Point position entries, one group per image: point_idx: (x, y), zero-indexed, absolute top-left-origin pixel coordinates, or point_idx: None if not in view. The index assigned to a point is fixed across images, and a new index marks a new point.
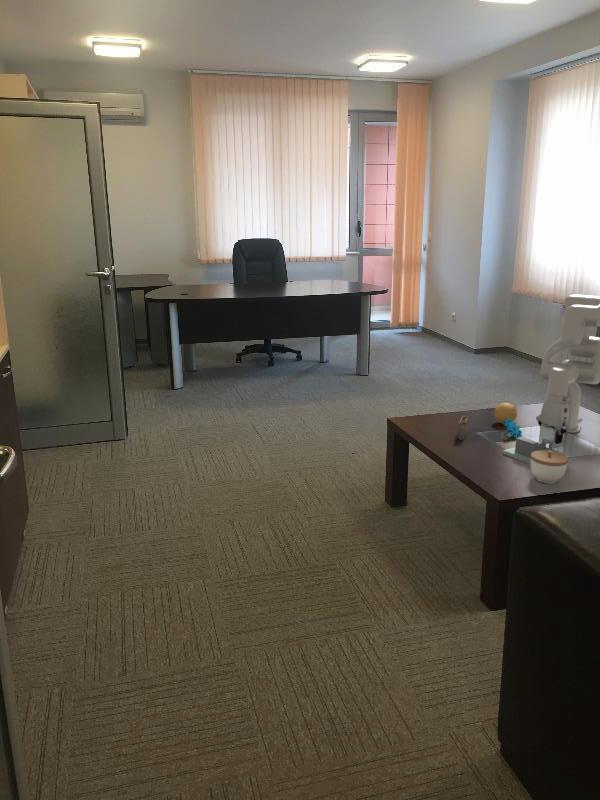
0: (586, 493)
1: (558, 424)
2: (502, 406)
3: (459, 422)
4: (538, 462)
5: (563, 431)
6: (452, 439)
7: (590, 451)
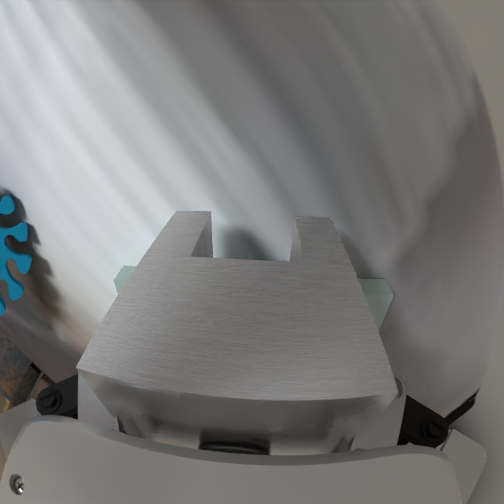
0: (464, 408)
1: None
2: None
3: (11, 405)
4: None
5: (401, 440)
6: (40, 379)
7: (444, 33)
